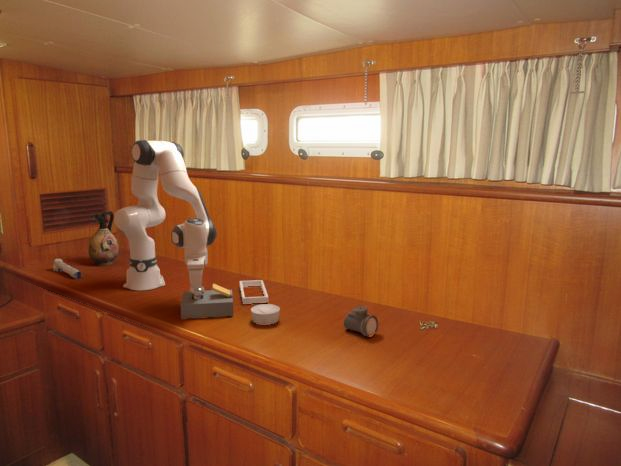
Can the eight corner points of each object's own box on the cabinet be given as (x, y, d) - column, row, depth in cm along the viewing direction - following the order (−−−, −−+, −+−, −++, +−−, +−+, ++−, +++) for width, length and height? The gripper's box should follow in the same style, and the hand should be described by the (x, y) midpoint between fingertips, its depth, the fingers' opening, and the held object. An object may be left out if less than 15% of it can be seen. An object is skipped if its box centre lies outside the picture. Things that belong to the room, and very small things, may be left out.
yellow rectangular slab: (212, 285, 183) (213, 282, 183) (231, 293, 185) (232, 290, 185) (212, 290, 177) (213, 287, 177) (231, 298, 179) (233, 295, 179)
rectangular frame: (239, 286, 213) (239, 281, 212) (262, 285, 215) (262, 280, 214) (242, 304, 189) (242, 298, 188) (268, 303, 191) (268, 297, 190)
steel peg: (190, 305, 182) (190, 286, 181) (204, 304, 184) (204, 285, 182) (190, 310, 177) (189, 290, 175) (204, 309, 178) (204, 289, 177)
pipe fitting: (380, 333, 162) (378, 306, 160) (367, 341, 156) (364, 314, 154) (355, 327, 170) (352, 302, 168) (341, 334, 165) (338, 308, 163)
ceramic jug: (100, 268, 238) (96, 213, 232) (84, 264, 246) (79, 211, 240) (128, 262, 252) (125, 210, 246) (112, 258, 260) (108, 208, 254)
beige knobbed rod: (72, 272, 217) (50, 257, 232) (72, 285, 219) (50, 269, 234) (83, 270, 221) (60, 255, 236) (83, 282, 223) (61, 267, 238)
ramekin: (245, 324, 168) (245, 311, 167) (259, 314, 179) (259, 302, 178) (271, 329, 164) (272, 315, 163) (284, 318, 175) (284, 306, 174)
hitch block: (183, 305, 187) (183, 291, 186) (231, 302, 191) (231, 289, 190) (181, 319, 172) (180, 304, 170) (233, 316, 176) (233, 302, 175)
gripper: (189, 253, 186) (190, 284, 188) (186, 266, 166) (187, 301, 169) (205, 252, 187) (205, 284, 190) (203, 265, 167) (204, 300, 170)
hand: (197, 292), depth 179 cm, fingers closed on steel peg, 5 cm apart
